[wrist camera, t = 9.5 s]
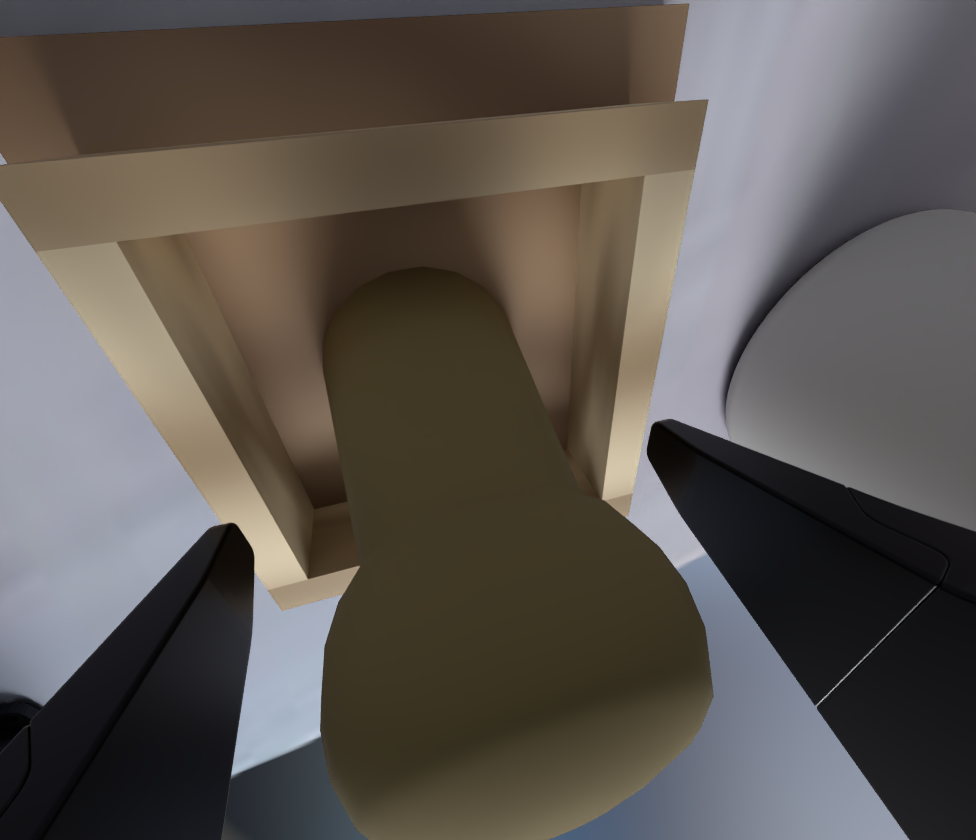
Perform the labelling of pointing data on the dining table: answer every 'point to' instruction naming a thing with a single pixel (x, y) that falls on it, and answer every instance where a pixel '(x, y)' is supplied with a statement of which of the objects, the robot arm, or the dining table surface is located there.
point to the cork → (486, 590)
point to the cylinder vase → (874, 368)
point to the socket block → (354, 227)
